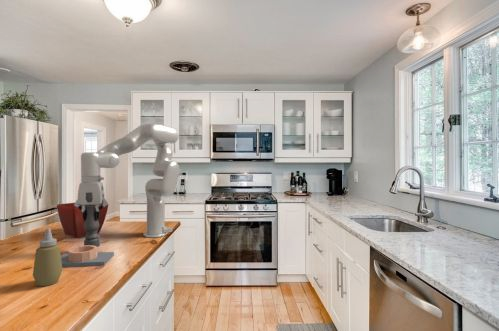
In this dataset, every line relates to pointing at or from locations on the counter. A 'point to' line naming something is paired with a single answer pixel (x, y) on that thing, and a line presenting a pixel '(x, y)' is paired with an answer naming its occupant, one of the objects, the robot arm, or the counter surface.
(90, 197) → the candle holder
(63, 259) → the socket board
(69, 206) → the plant pot
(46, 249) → the squeeze bottle
